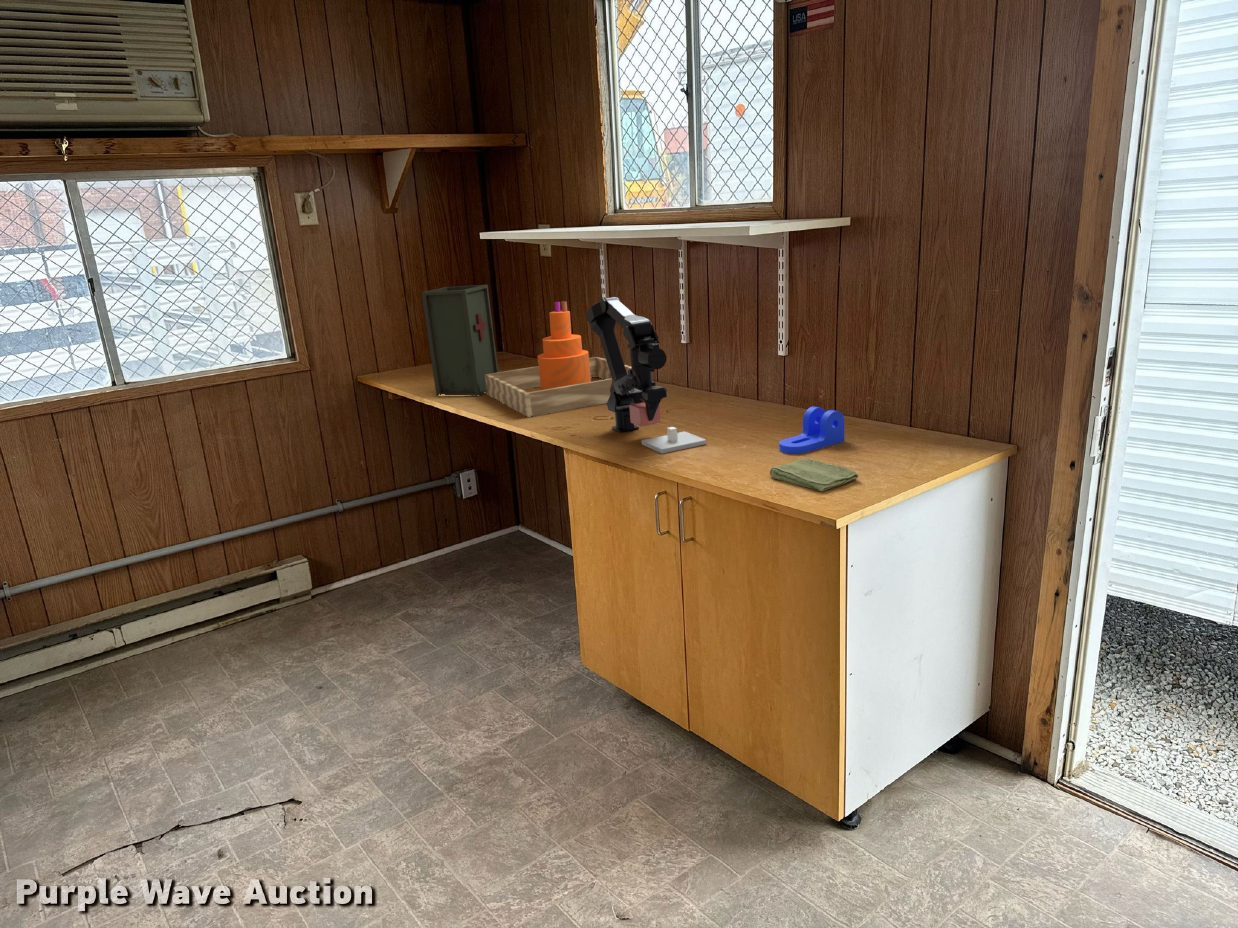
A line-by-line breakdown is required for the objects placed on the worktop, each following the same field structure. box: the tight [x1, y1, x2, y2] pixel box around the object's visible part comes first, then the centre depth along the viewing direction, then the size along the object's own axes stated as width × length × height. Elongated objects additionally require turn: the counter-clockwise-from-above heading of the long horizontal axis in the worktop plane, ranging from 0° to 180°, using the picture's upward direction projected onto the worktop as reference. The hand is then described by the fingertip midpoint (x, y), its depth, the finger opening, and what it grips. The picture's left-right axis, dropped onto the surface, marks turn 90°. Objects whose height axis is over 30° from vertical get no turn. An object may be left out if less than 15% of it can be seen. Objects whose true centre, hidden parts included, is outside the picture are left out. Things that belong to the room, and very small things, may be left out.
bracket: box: [778, 406, 845, 455], centre depth 221 cm, size 18×8×9 cm, turn 123°
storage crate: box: [485, 356, 653, 418], centre depth 308 cm, size 47×47×8 cm
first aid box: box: [421, 284, 499, 396], centre depth 325 cm, size 18×18×40 cm
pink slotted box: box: [629, 402, 662, 428], centre depth 240 cm, size 6×6×6 cm
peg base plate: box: [641, 426, 707, 455], centre depth 233 cm, size 12×14×5 cm
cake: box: [537, 301, 592, 390], centre depth 304 cm, size 20×19×35 cm
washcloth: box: [769, 458, 859, 493], centre depth 196 cm, size 13×18×3 cm
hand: (645, 418), depth 240 cm, fingers closed on pink slotted box, 6 cm apart
